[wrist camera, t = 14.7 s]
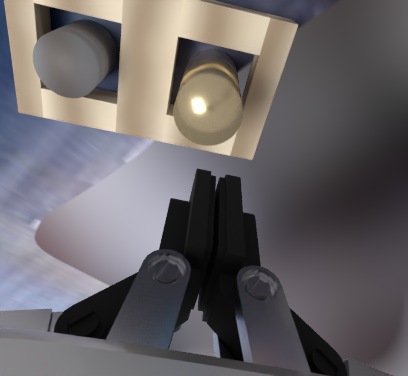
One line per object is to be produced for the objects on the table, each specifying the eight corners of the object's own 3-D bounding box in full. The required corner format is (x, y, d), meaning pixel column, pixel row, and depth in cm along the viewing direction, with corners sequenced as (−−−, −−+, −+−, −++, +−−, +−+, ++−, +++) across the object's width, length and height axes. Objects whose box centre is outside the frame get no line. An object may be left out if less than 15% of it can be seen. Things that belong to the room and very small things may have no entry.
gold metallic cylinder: (243, 56, 26) (251, 88, 19) (229, 107, 28) (232, 151, 22) (189, 43, 26) (179, 72, 19) (180, 97, 28) (168, 138, 22)
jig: (291, 19, 24) (306, 31, 20) (250, 146, 31) (254, 175, 26) (17, -49, 23) (-27, -51, 18) (32, 101, 29) (2, 124, 25)
